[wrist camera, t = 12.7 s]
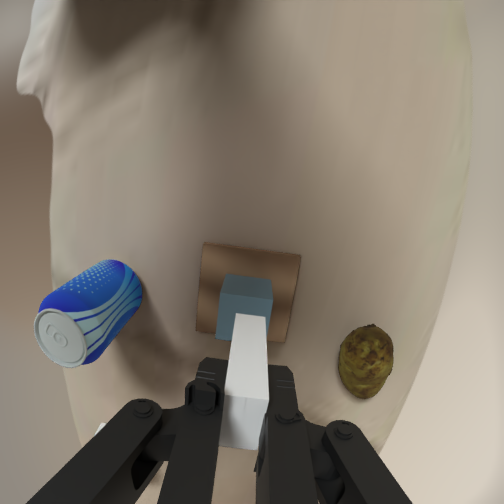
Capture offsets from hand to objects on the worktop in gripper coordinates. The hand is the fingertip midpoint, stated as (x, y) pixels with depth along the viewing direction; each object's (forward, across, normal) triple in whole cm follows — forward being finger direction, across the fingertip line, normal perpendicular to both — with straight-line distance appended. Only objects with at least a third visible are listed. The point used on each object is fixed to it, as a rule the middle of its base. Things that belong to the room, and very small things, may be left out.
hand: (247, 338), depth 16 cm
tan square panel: (+24, 0, -7) cm, 25 cm away
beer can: (+25, -18, -9) cm, 32 cm away
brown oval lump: (+25, +17, -14) cm, 33 cm away
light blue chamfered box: (+23, 0, -7) cm, 24 cm away
